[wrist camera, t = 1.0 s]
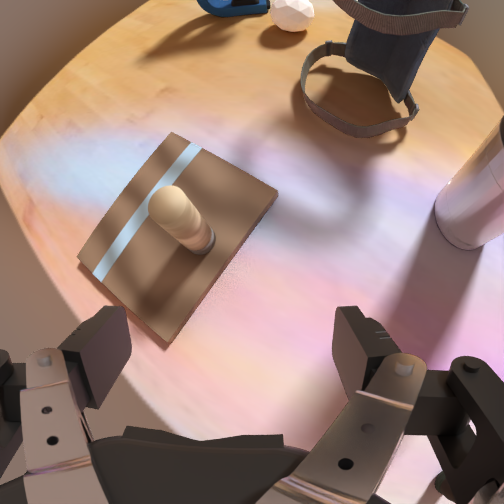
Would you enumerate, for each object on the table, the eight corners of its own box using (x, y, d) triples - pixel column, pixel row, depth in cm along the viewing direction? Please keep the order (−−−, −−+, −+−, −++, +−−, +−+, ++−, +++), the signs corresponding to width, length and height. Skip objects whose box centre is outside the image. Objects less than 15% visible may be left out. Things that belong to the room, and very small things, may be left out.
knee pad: (441, 105, 40) (496, -16, 16) (363, 165, 39) (412, 4, 15) (361, 42, 45) (373, -76, 21) (275, 87, 44) (255, -59, 20)
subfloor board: (174, 137, 44) (171, 131, 42) (278, 195, 39) (277, 190, 38) (82, 259, 41) (76, 256, 39) (171, 342, 36) (167, 342, 35)
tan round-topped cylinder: (198, 220, 38) (165, 178, 28) (221, 235, 37) (194, 197, 27) (180, 244, 38) (140, 210, 27) (203, 260, 37) (168, 231, 26)
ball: (296, 44, 49) (288, 33, 42) (267, 19, 49) (255, 6, 42) (325, 21, 46) (321, 6, 39) (296, -4, 45) (287, -20, 38)
